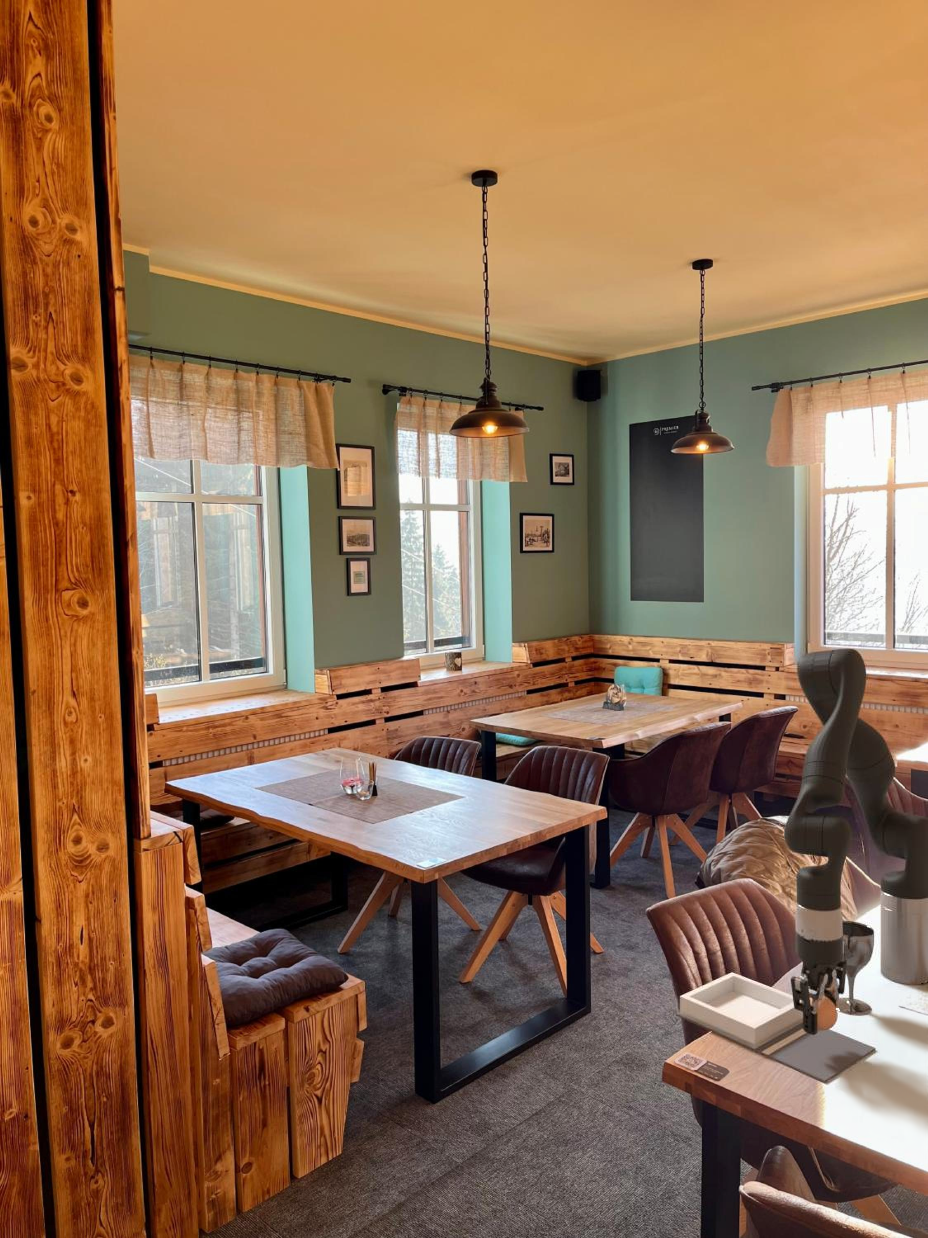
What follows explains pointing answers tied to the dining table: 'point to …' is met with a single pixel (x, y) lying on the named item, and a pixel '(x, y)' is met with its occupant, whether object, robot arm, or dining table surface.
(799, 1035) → the mat
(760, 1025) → the tray
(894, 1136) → the dining table surface
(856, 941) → the wine glass
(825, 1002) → the ball
